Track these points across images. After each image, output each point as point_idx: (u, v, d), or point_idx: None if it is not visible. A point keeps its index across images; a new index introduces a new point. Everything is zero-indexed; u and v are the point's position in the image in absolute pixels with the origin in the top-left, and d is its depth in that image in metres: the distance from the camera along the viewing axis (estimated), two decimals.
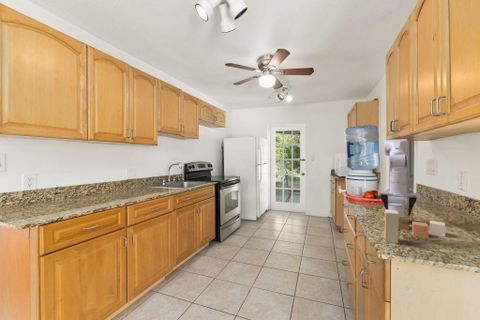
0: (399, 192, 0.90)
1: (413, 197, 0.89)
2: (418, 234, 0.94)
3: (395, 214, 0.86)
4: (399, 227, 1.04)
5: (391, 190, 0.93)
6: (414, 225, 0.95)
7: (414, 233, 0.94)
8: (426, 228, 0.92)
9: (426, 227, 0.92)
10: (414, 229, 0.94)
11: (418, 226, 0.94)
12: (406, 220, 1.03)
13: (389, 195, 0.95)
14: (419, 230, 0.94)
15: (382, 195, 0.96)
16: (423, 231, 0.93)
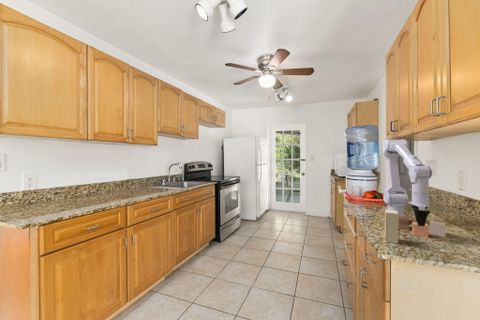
0: (412, 201, 0.96)
1: None
2: (418, 234, 0.94)
3: (395, 214, 0.86)
4: (399, 227, 1.04)
5: None
6: (414, 225, 0.95)
7: (414, 233, 0.94)
8: (426, 228, 0.92)
9: (426, 227, 0.92)
10: (414, 229, 0.94)
11: (418, 226, 0.94)
12: (406, 220, 1.03)
13: None
14: (419, 230, 0.94)
15: None
16: (423, 231, 0.93)
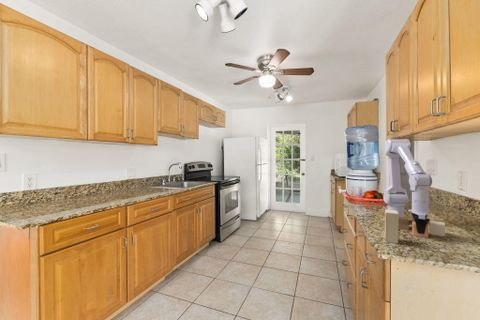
0: None
1: None
2: (418, 234, 0.94)
3: (395, 214, 0.86)
4: (399, 227, 1.04)
5: None
6: (414, 225, 0.95)
7: (414, 233, 0.94)
8: (426, 228, 0.92)
9: (426, 227, 0.92)
10: (414, 229, 0.94)
11: None
12: (406, 220, 1.03)
13: None
14: None
15: None
16: None
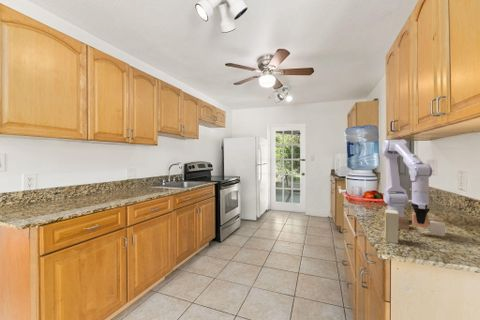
0: None
1: None
2: (418, 224, 0.94)
3: (395, 214, 0.86)
4: (399, 227, 1.04)
5: None
6: (414, 215, 0.95)
7: (414, 223, 0.95)
8: (426, 218, 0.92)
9: (426, 217, 0.92)
10: (414, 219, 0.95)
11: None
12: (406, 220, 1.03)
13: None
14: None
15: None
16: None
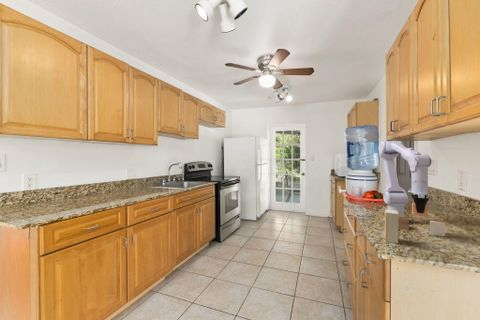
0: (411, 190, 0.98)
1: None
2: (418, 214, 0.95)
3: (395, 214, 0.86)
4: (399, 227, 1.04)
5: None
6: (414, 205, 0.96)
7: (414, 213, 0.96)
8: (425, 207, 0.94)
9: (425, 206, 0.94)
10: (414, 209, 0.96)
11: None
12: (406, 220, 1.03)
13: (417, 193, 1.00)
14: None
15: None
16: None
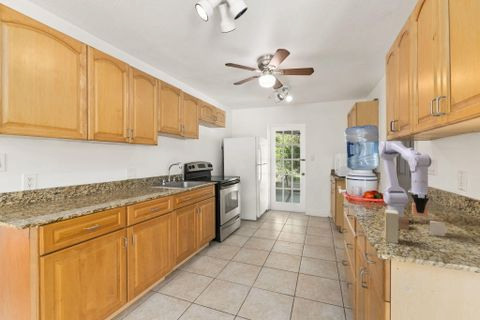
0: (411, 190, 0.98)
1: None
2: (418, 214, 0.95)
3: (395, 214, 0.86)
4: (399, 227, 1.04)
5: None
6: (414, 205, 0.96)
7: (414, 213, 0.96)
8: (425, 207, 0.94)
9: (425, 206, 0.94)
10: (414, 209, 0.96)
11: None
12: (406, 220, 1.03)
13: (417, 193, 1.00)
14: None
15: None
16: None
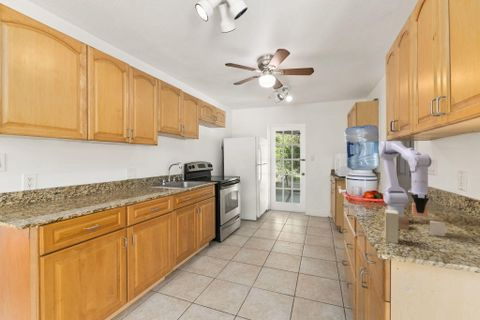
0: (411, 190, 0.98)
1: None
2: (418, 214, 0.95)
3: (395, 214, 0.86)
4: (399, 227, 1.04)
5: None
6: (414, 205, 0.96)
7: (414, 213, 0.96)
8: (425, 207, 0.94)
9: (425, 206, 0.94)
10: (414, 209, 0.96)
11: None
12: (406, 220, 1.03)
13: (417, 193, 1.00)
14: None
15: None
16: None
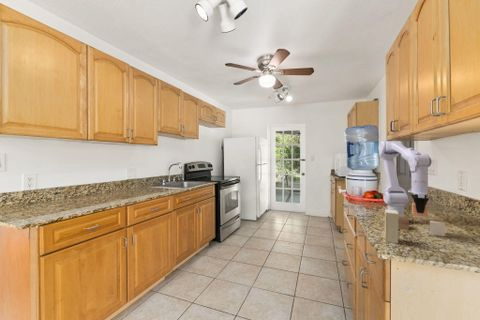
0: (411, 190, 0.98)
1: None
2: (418, 214, 0.95)
3: (395, 214, 0.86)
4: (399, 227, 1.04)
5: None
6: (414, 205, 0.96)
7: (414, 213, 0.96)
8: (425, 207, 0.94)
9: (425, 206, 0.94)
10: (414, 209, 0.96)
11: None
12: (406, 220, 1.03)
13: (417, 193, 1.00)
14: None
15: None
16: None
